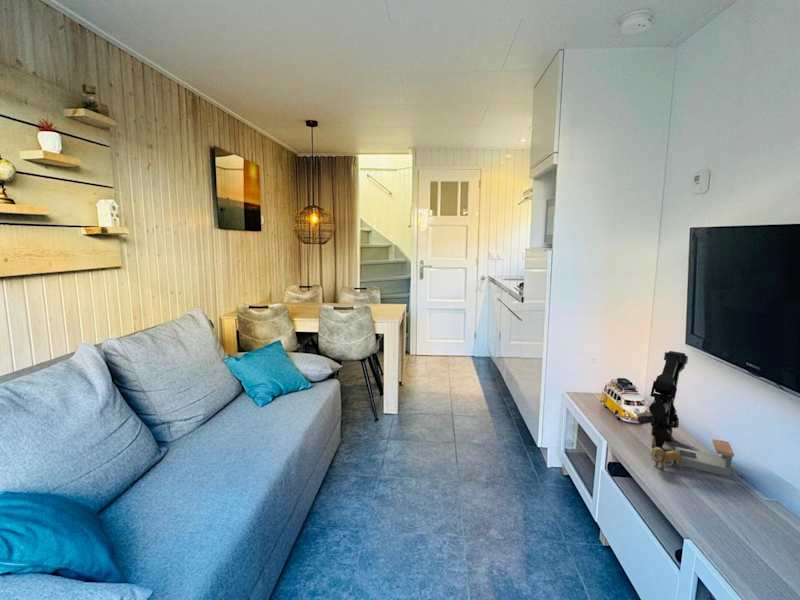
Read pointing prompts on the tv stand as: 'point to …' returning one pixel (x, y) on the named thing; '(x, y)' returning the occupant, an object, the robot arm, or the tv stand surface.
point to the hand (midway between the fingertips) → (657, 445)
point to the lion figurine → (666, 457)
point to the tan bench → (724, 451)
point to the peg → (655, 443)
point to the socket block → (703, 461)
